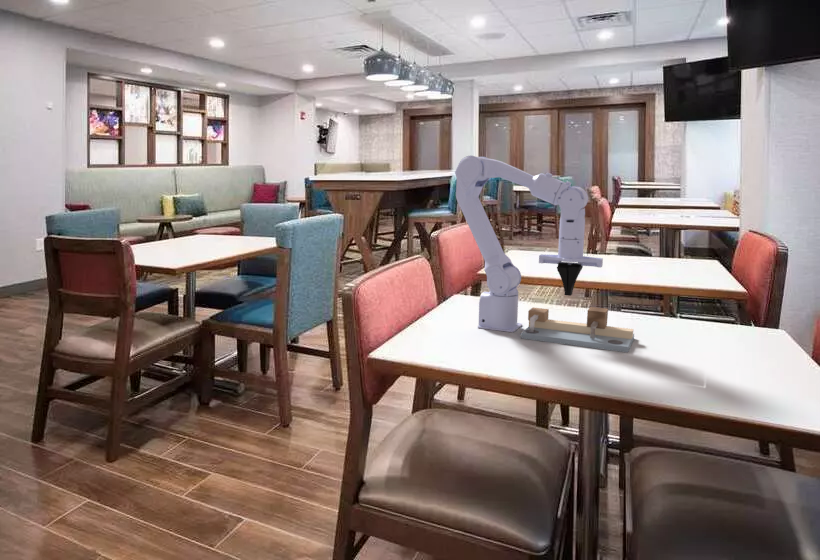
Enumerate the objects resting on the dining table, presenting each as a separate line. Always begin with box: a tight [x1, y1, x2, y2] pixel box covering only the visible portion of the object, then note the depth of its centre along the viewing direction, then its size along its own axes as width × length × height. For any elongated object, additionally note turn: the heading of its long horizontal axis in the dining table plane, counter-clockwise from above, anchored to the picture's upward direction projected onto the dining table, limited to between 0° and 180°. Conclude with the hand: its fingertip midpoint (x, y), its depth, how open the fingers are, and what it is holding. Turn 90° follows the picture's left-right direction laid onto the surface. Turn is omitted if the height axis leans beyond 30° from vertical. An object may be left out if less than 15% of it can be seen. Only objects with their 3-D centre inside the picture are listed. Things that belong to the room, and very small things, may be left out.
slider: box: [586, 306, 609, 339], centre depth 133 cm, size 4×8×6 cm, turn 153°
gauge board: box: [520, 307, 635, 353], centre depth 135 cm, size 24×12×5 cm, turn 63°
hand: (568, 294), depth 137 cm, fingers closed
